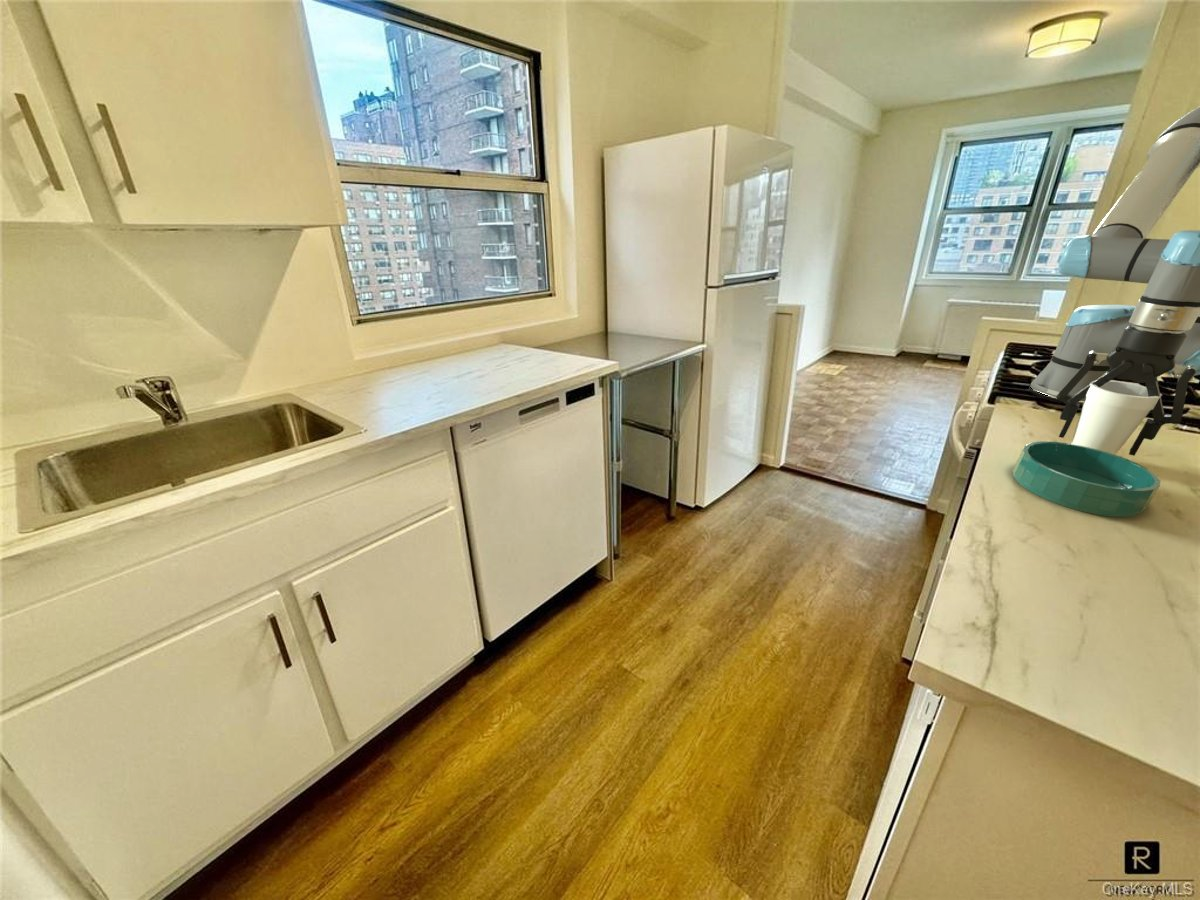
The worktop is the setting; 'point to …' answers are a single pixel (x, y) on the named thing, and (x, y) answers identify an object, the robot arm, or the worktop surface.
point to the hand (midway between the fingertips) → (1095, 443)
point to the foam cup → (1112, 415)
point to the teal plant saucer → (1085, 478)
